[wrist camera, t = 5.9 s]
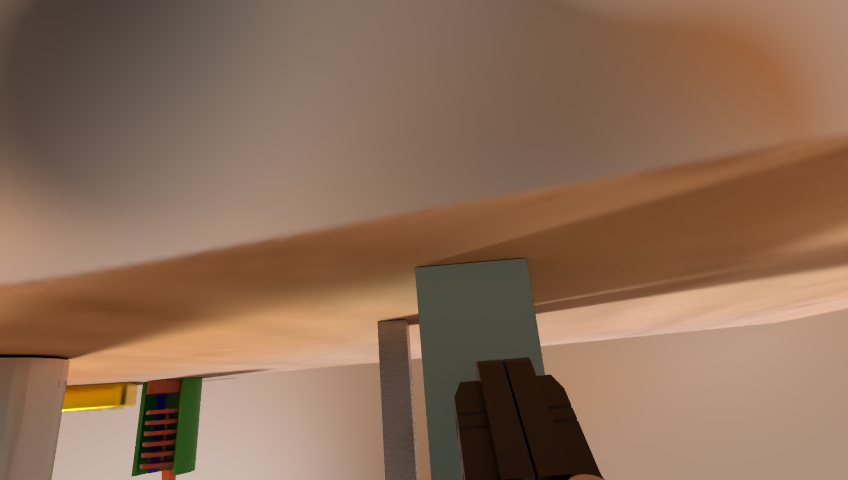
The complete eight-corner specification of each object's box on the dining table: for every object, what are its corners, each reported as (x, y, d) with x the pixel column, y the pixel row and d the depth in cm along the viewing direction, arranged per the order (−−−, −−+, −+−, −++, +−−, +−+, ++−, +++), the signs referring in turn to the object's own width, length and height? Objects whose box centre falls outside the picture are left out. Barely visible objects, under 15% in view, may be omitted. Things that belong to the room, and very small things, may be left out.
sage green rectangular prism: (415, 267, 18) (443, 631, 14) (526, 258, 18) (583, 618, 14) (422, 314, 30) (438, 515, 27) (488, 309, 30) (513, 509, 27)
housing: (375, 319, 30) (392, 689, 24) (536, 305, 30) (594, 671, 24) (385, 330, 37) (401, 623, 31) (518, 319, 37) (559, 609, 31)
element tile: (127, 380, 79) (124, 408, 78) (139, 383, 92) (136, 407, 91) (19, 386, 73) (13, 418, 72) (47, 389, 86) (43, 415, 85)
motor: (166, 378, 77) (154, 509, 71) (213, 376, 85) (206, 495, 79) (135, 382, 82) (121, 505, 76) (182, 380, 90) (173, 492, 84)
